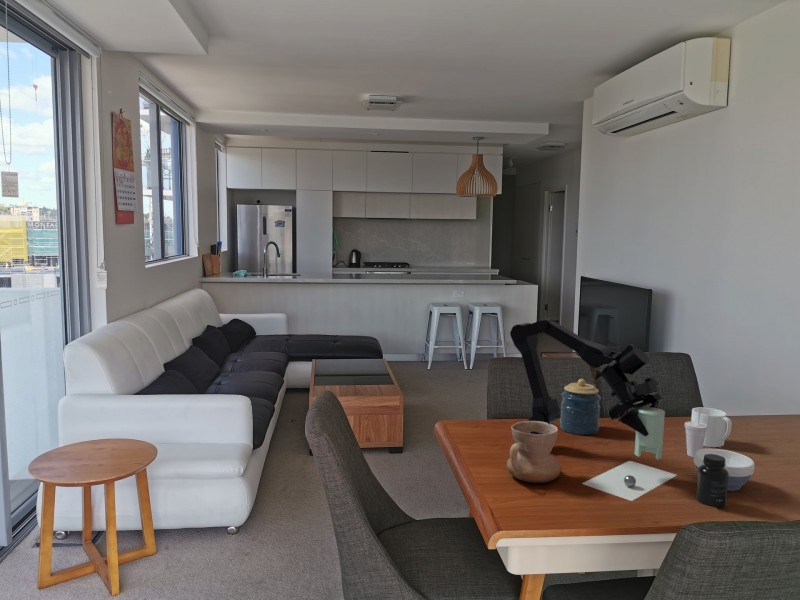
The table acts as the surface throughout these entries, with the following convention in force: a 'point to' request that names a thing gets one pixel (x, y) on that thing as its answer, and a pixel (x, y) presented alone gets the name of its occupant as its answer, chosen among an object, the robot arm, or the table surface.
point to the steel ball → (629, 481)
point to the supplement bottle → (712, 481)
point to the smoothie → (695, 435)
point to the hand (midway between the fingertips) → (654, 432)
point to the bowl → (730, 466)
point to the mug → (713, 425)
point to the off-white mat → (643, 474)
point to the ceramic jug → (533, 452)
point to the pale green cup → (650, 431)
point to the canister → (580, 408)
